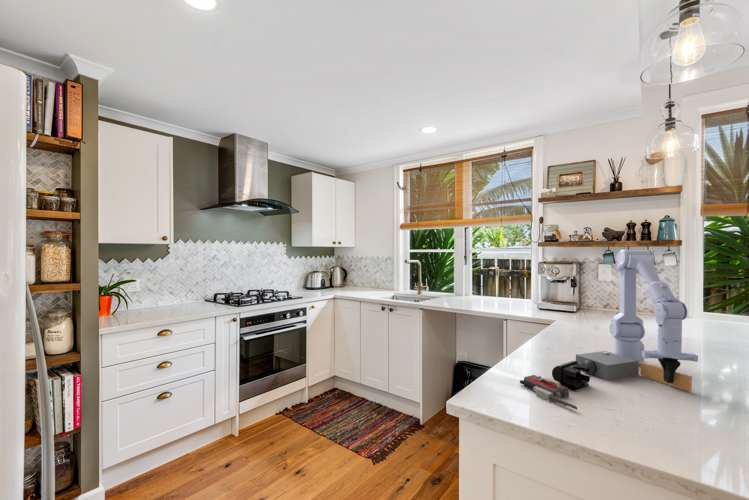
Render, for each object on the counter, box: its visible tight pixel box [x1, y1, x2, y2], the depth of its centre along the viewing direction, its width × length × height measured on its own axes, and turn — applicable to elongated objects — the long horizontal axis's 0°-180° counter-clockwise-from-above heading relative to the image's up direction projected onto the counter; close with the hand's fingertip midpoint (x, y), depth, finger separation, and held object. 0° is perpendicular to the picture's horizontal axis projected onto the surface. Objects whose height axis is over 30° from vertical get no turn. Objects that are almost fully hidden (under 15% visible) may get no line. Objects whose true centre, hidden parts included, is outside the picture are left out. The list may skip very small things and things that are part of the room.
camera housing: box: [575, 350, 640, 381], centre depth 123 cm, size 17×12×6 cm
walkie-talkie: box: [519, 374, 578, 410], centre depth 103 cm, size 9×4×20 cm
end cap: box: [551, 360, 591, 392], centre depth 111 cm, size 10×7×7 cm
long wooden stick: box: [640, 361, 693, 392], centre depth 112 cm, size 14×1×4 cm, turn 20°
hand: (668, 382), depth 110 cm, fingers closed, pressing on long wooden stick
